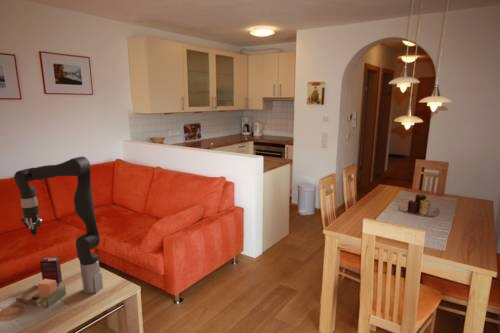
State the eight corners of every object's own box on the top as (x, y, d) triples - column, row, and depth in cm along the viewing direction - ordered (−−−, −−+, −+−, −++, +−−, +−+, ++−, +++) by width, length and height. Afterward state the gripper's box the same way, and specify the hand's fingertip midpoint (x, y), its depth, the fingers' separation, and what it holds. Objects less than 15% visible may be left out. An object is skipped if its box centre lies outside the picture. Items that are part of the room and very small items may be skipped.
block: (57, 293, 172) (55, 280, 171) (51, 298, 168) (49, 284, 167) (46, 292, 174) (44, 278, 172) (39, 297, 169) (37, 283, 168)
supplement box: (62, 281, 190) (59, 256, 187) (59, 285, 185) (55, 260, 182) (46, 282, 189) (43, 257, 185) (43, 287, 184) (39, 261, 181)
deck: (66, 294, 177) (65, 284, 176) (48, 307, 166) (47, 297, 164) (35, 289, 181) (34, 280, 180) (16, 302, 170) (14, 292, 168)
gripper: (45, 203, 179) (49, 233, 182) (25, 202, 181) (29, 231, 185) (34, 208, 171) (38, 238, 175) (13, 206, 174) (18, 236, 178)
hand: (34, 234), depth 180 cm, fingers closed
